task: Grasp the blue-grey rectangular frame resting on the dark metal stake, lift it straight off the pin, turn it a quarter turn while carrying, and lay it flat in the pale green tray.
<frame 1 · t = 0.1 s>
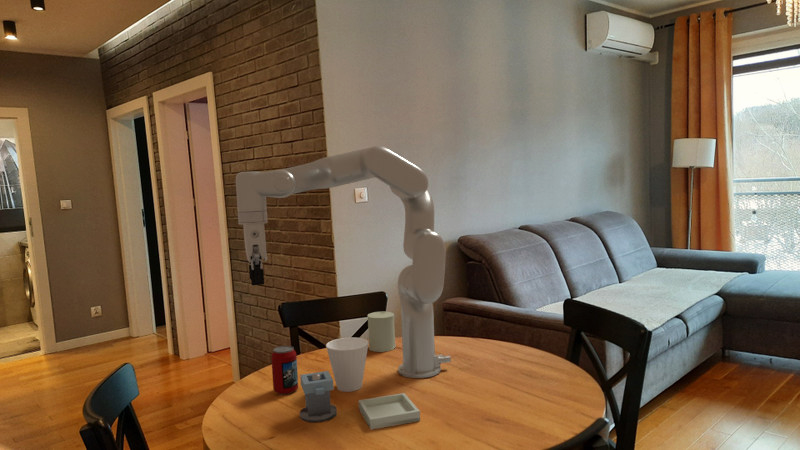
hand: (256, 281, 148), 31 cm above the table, fingers open, 9 cm apart
cup: (349, 387, 154), on the table
tray: (388, 415, 134), on the table
blue-grey rectangular frame: (316, 386, 136), point 7 cm above the table, touching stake
beverage can: (286, 391, 153), on the table
can: (382, 348, 189), on the table
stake: (318, 414, 136), on the table
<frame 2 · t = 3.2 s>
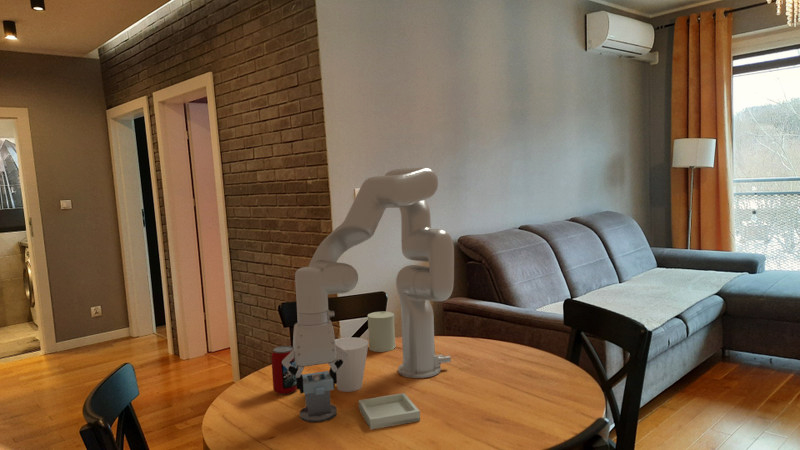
hand: (317, 388, 136), 7 cm above the table, fingers closed on blue-grey rectangular frame, 7 cm apart
blue-grey rectangular frame: (316, 386, 136), point 7 cm above the table, touching gripper, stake
everything else where it was.
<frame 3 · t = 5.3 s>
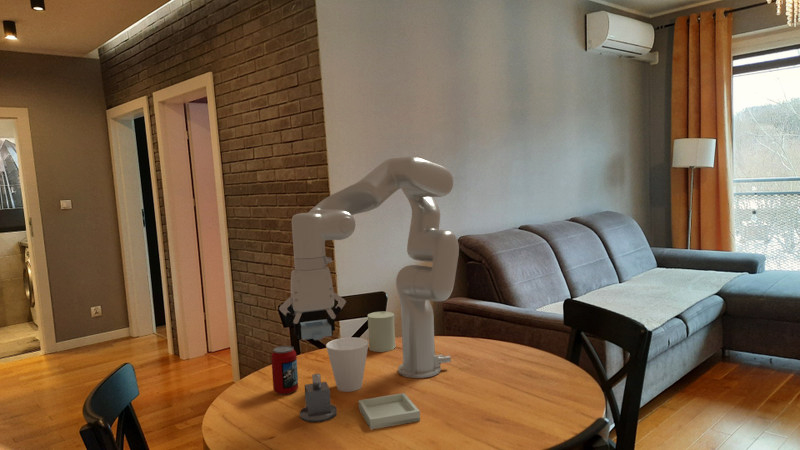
hand: (315, 335, 135), 20 cm above the table, fingers closed on blue-grey rectangular frame, 7 cm apart
blue-grey rectangular frame: (315, 334, 135), point 20 cm above the table, touching gripper
everything else where it was.
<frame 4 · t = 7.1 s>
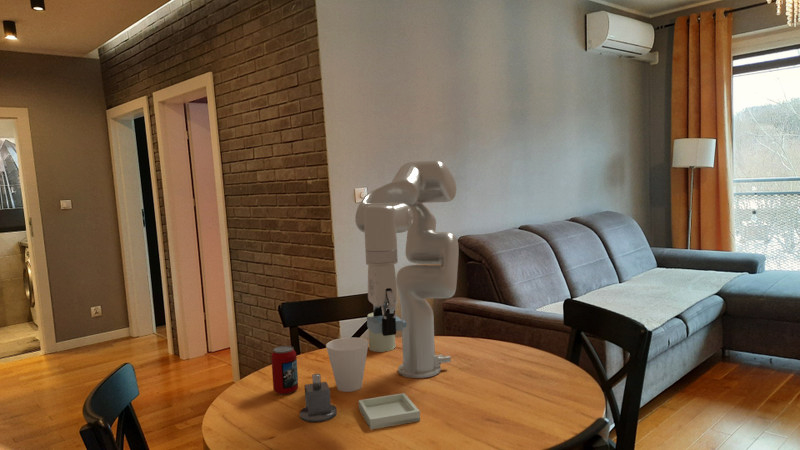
hand: (384, 330, 133), 21 cm above the table, fingers closed on blue-grey rectangular frame, 7 cm apart
blue-grey rectangular frame: (384, 328, 133), point 21 cm above the table, touching gripper
everything else where it was.
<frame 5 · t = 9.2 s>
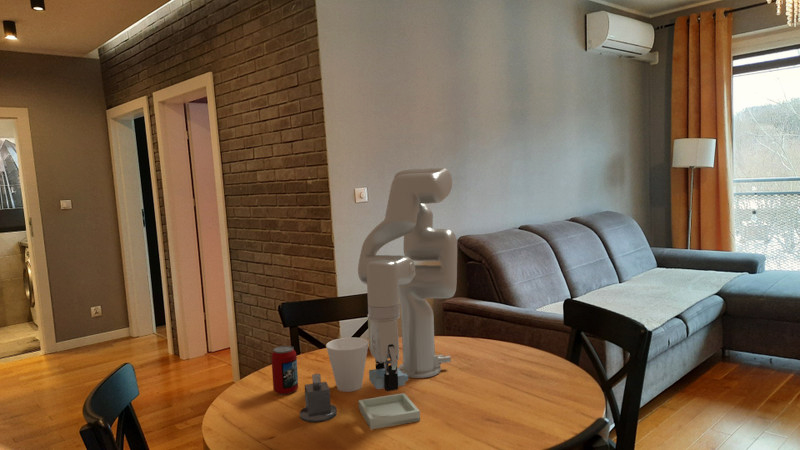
hand: (386, 384, 133), 8 cm above the table, fingers closed on blue-grey rectangular frame, 7 cm apart
blue-grey rectangular frame: (386, 382, 133), point 8 cm above the table, touching gripper
everything else where it was.
when the fingers open (2 cm above the table, at t = 11.0 s): blue-grey rectangular frame drops 2 cm, resting on tray.
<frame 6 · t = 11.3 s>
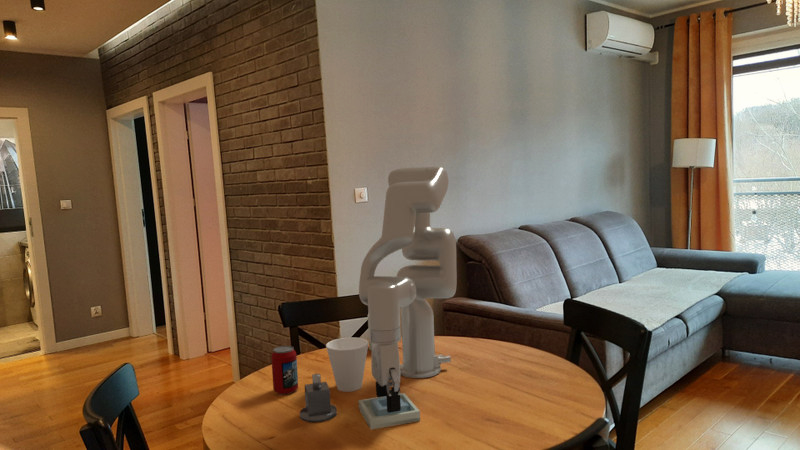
hand: (388, 403, 134), 3 cm above the table, fingers open, 9 cm apart
blue-grey rectangular frame: (388, 411, 134), point 1 cm above the table, touching tray
everything else where it was.
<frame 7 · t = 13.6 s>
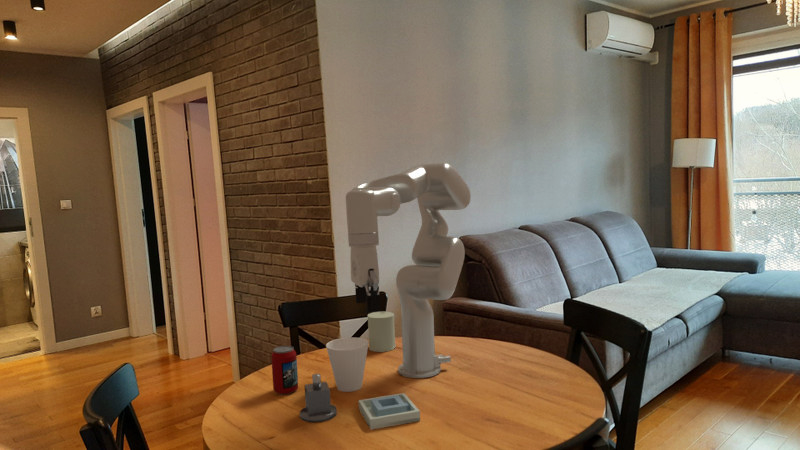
hand: (367, 306, 140), 25 cm above the table, fingers open, 9 cm apart
nothing on the table moved.
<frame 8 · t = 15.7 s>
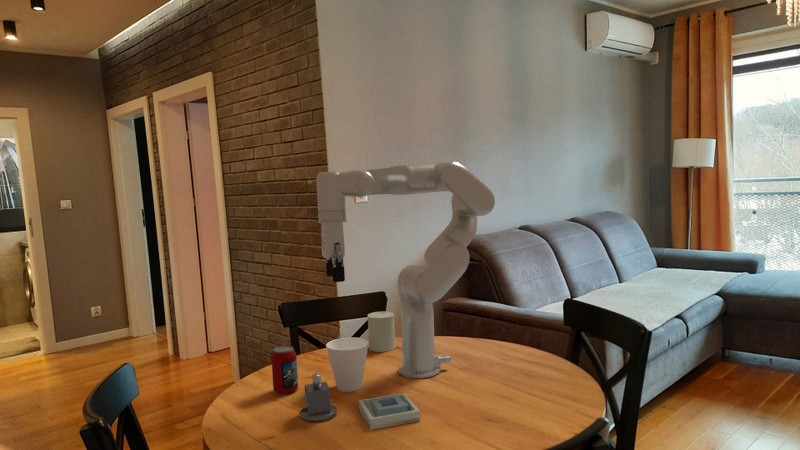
hand: (335, 278, 153), 30 cm above the table, fingers open, 9 cm apart
nothing on the table moved.
at the end: blue-grey rectangular frame inside the target area on the tray (0.0 cm from its centre), point 0.8 cm above the tray's base; blue-grey rectangular frame tilted 0°; the gripper is holding nothing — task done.
